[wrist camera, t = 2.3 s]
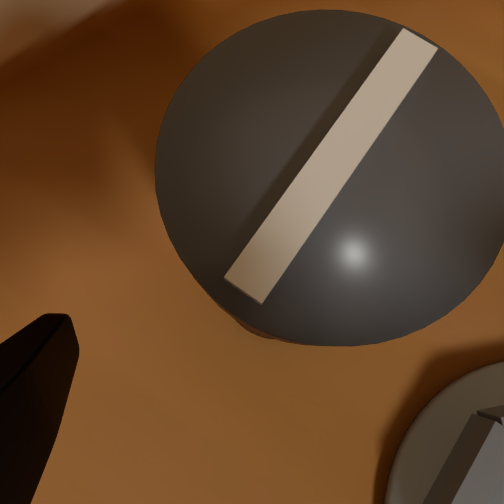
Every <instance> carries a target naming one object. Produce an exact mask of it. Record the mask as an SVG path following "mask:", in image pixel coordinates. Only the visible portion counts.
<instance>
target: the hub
mask: <svg viewBox="0 0 504 504" xmlns="http://www.w3.org/2000/svg"><path fill="white" fill-rule="evenodd" d="M384 504H504V361H501V362H498V363H494V364H490V365H486V366H483V367H481V368H479V369H476V370H474V371H472V372H469V373H467V374H465V375H463V376H462V377H460V378H458V379H457V380H455V381H453V382H452V383H450V384H449V385H447V386H446V387H445V388H444V389H443V390H441V391H440V392H439V393H438V394H437V395H435V396H434V397H433V398H432V399H431V400H430V401H429V402H428V403H427V405H426V406H425V407H424V408H423V409H422V410H421V411H420V412H419V414H418V415H417V417H416V418H415V420H414V421H413V422H412V424H411V425H410V427H409V428H408V430H407V432H406V434H405V436H404V438H403V440H402V442H401V444H400V446H399V448H398V450H397V452H396V455H395V458H394V461H393V464H392V467H391V470H390V473H389V478H388V483H387V488H386V493H385V501H384Z"/></svg>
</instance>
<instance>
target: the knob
mask: <svg viewBox="0 0 504 504" xmlns="http://www.w3.org/2000/svg"><path fill="white" fill-rule="evenodd" d="M154 171H155V186H156V195H157V200H158V204H159V209H160V214H161V217H162V220H163V222H164V225H165V228H166V231H167V234H168V236H169V238H170V240H171V242H172V244H173V246H174V248H175V250H176V252H177V253H178V255H179V257H180V259H181V260H182V261H183V263H184V264H185V266H186V267H187V268H188V270H189V271H190V273H191V274H192V275H193V277H194V278H195V279H196V281H197V282H198V283H199V284H200V285H201V287H202V288H203V289H204V290H205V291H206V293H207V294H208V295H209V296H210V297H211V298H212V299H213V300H214V301H215V302H216V303H217V305H218V306H219V307H220V308H222V309H223V310H224V311H225V312H226V313H228V314H229V315H230V316H231V317H233V318H234V319H235V320H236V321H237V322H238V323H239V324H240V325H241V326H242V327H243V328H245V329H246V330H248V331H249V332H251V333H253V334H255V335H258V336H260V337H264V338H268V339H277V340H280V341H284V342H288V343H294V344H301V345H313V346H360V345H368V344H377V343H381V342H385V341H389V340H392V339H396V338H400V337H403V336H405V335H408V334H410V333H413V332H415V331H418V330H420V329H422V328H425V327H426V326H428V325H430V324H431V323H433V322H435V321H437V320H438V319H440V318H442V317H443V316H445V315H446V314H448V313H449V312H450V311H451V310H453V309H454V308H455V307H456V306H458V305H459V304H460V303H461V302H463V301H464V300H465V299H466V298H467V297H468V295H469V294H470V293H471V292H472V291H473V290H474V289H475V288H476V287H477V286H478V285H479V284H480V282H481V281H482V279H483V278H484V277H485V275H486V274H487V272H488V271H489V269H490V268H491V266H492V265H493V263H494V261H495V259H496V257H497V255H498V253H499V251H500V249H501V247H502V245H503V242H504V129H503V126H502V124H501V121H500V119H499V116H498V114H497V112H496V111H495V109H494V107H493V105H492V103H491V102H490V100H489V98H488V96H487V95H486V93H485V92H484V91H483V89H482V88H481V87H480V85H479V84H478V83H477V81H476V80H475V79H474V77H473V76H472V75H471V74H470V73H469V72H468V71H467V70H466V69H465V68H464V67H463V66H462V65H461V64H460V62H459V61H457V60H456V59H455V58H454V57H453V56H451V55H450V54H449V53H448V52H447V51H445V50H444V49H443V48H442V47H440V46H439V45H437V44H436V43H434V42H433V41H431V40H430V39H428V38H426V37H425V36H423V35H421V34H419V33H417V32H415V31H413V30H411V29H409V28H407V27H406V26H403V25H401V24H398V23H395V22H393V21H390V20H387V19H384V18H381V17H377V16H373V15H369V14H365V13H359V12H352V11H344V10H310V11H299V12H294V13H289V14H284V15H279V16H276V17H273V18H270V19H267V20H264V21H261V22H258V23H256V24H253V25H251V26H249V27H247V28H245V29H243V30H241V31H239V32H237V33H235V34H234V35H232V36H231V37H229V38H227V39H226V40H224V41H223V42H221V43H220V44H219V45H217V46H216V47H215V48H214V49H212V50H211V51H210V52H209V53H208V54H206V55H205V56H204V57H203V58H202V59H201V60H200V61H199V62H198V63H197V64H196V66H195V67H194V68H193V69H192V70H191V71H190V72H189V74H188V75H187V76H186V78H185V79H184V80H183V82H182V83H181V85H180V86H179V87H178V89H177V91H176V93H175V95H174V97H173V98H172V100H171V102H170V104H169V106H168V108H167V111H166V114H165V116H164V119H163V122H162V124H161V127H160V132H159V137H158V141H157V146H156V155H155V169H154Z"/></svg>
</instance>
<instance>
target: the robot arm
mask: <svg viewBox="0 0 504 504" xmlns="http://www.w3.org/2000/svg"><path fill="white" fill-rule="evenodd" d="M78 358H79V344H78V340H77V337H76V333H75V330H74V327H73V323H72V320H71V318H70V316H69V315H67V314H62V313H47V314H44V315H42V316H40V317H39V318H37V319H36V320H34V321H33V322H31V323H30V324H29V325H27V326H26V327H24V328H23V329H21V330H20V331H18V332H17V333H15V334H14V335H13V336H11V337H10V338H8V339H7V340H5V341H4V342H2V343H1V344H0V504H31V501H32V499H33V496H34V494H35V491H36V489H37V486H38V484H39V481H40V479H41V476H42V474H43V471H44V469H45V466H46V463H47V461H48V458H49V456H50V453H51V451H52V448H53V445H54V443H55V440H56V437H57V434H58V431H59V427H60V424H61V421H62V417H63V413H64V410H65V406H66V402H67V399H68V395H69V391H70V388H71V384H72V380H73V377H74V373H75V369H76V366H77V362H78Z"/></svg>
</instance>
